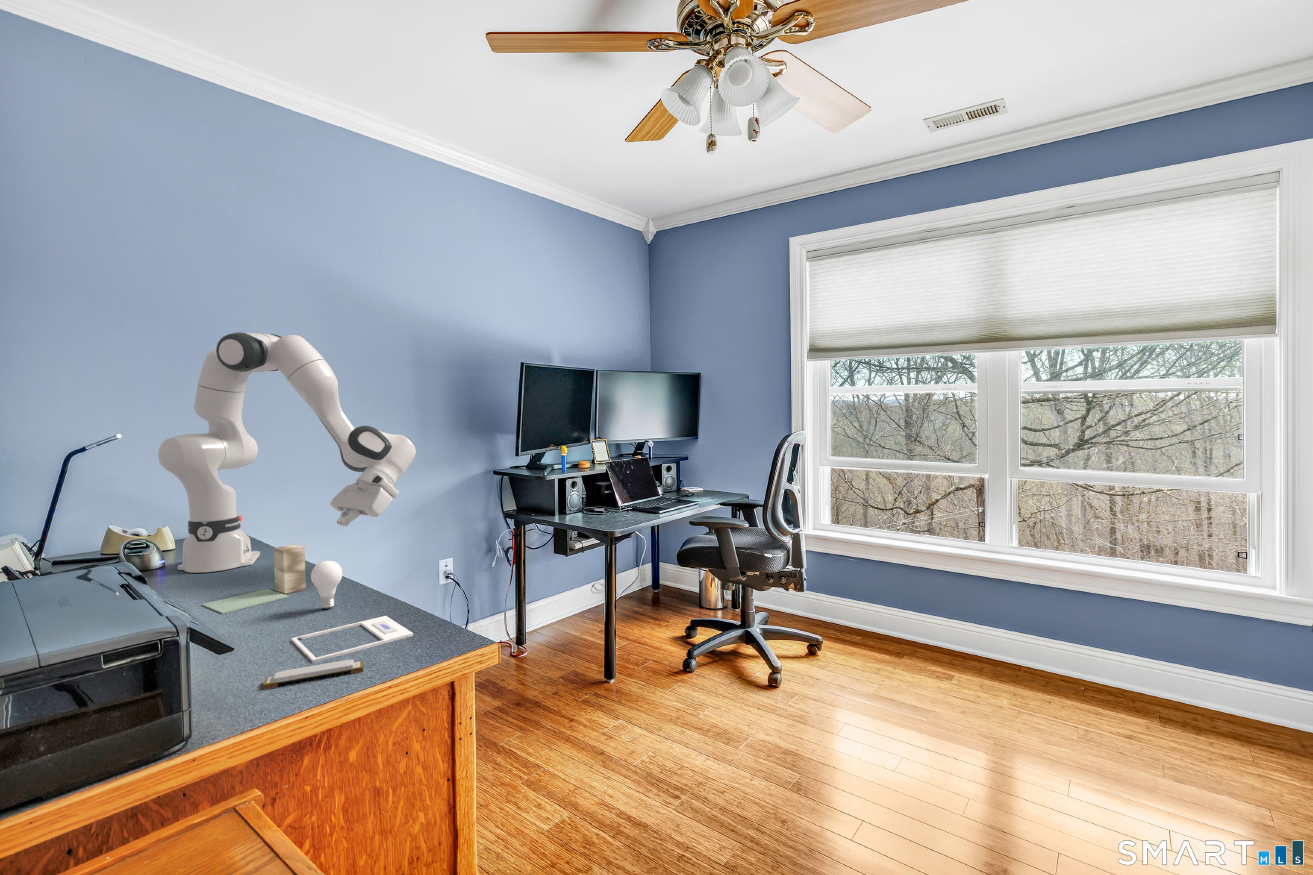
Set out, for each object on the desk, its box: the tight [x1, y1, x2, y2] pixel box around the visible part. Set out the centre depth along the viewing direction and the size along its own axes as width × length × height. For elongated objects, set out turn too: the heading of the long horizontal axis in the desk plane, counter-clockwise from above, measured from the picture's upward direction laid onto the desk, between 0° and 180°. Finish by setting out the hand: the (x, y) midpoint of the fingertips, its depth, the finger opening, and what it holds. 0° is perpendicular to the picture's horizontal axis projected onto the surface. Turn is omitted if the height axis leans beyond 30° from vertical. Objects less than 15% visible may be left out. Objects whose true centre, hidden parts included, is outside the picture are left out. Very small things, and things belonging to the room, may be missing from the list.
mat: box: [201, 588, 290, 614], centre depth 143 cm, size 14×11×1 cm
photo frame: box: [291, 615, 414, 664], centre depth 119 cm, size 15×1×18 cm
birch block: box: [273, 543, 307, 595], centre depth 151 cm, size 5×5×11 cm
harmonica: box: [262, 659, 364, 690], centre depth 102 cm, size 15×3×2 cm, turn 116°
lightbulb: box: [310, 560, 343, 610], centre depth 137 cm, size 6×6×11 cm
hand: (341, 524), depth 161 cm, fingers closed
